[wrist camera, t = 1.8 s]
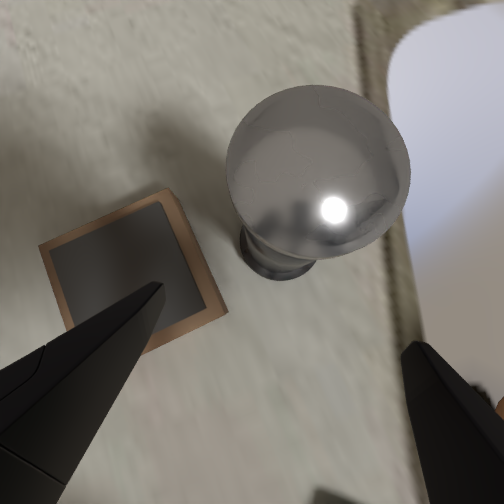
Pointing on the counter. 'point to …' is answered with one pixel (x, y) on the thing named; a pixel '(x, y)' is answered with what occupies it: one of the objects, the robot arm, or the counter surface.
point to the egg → (500, 408)
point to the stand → (135, 267)
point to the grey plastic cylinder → (314, 178)
